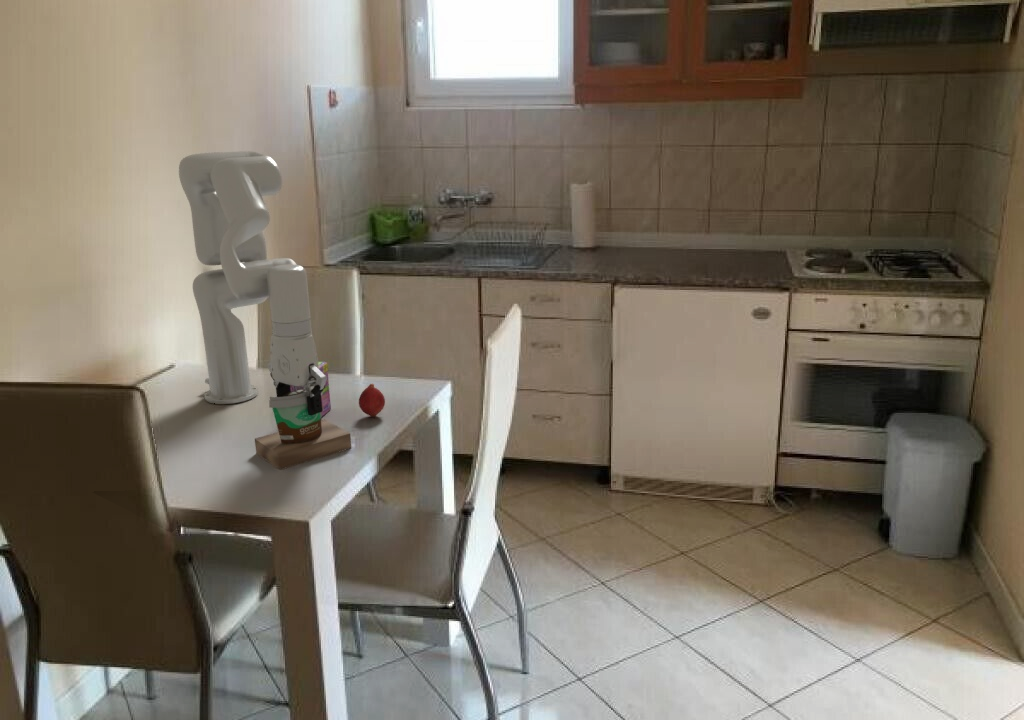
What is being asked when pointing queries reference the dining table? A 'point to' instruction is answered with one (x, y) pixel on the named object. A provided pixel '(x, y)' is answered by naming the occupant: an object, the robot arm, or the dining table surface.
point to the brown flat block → (302, 446)
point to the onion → (371, 401)
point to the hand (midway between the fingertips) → (299, 408)
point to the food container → (295, 417)
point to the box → (326, 395)
